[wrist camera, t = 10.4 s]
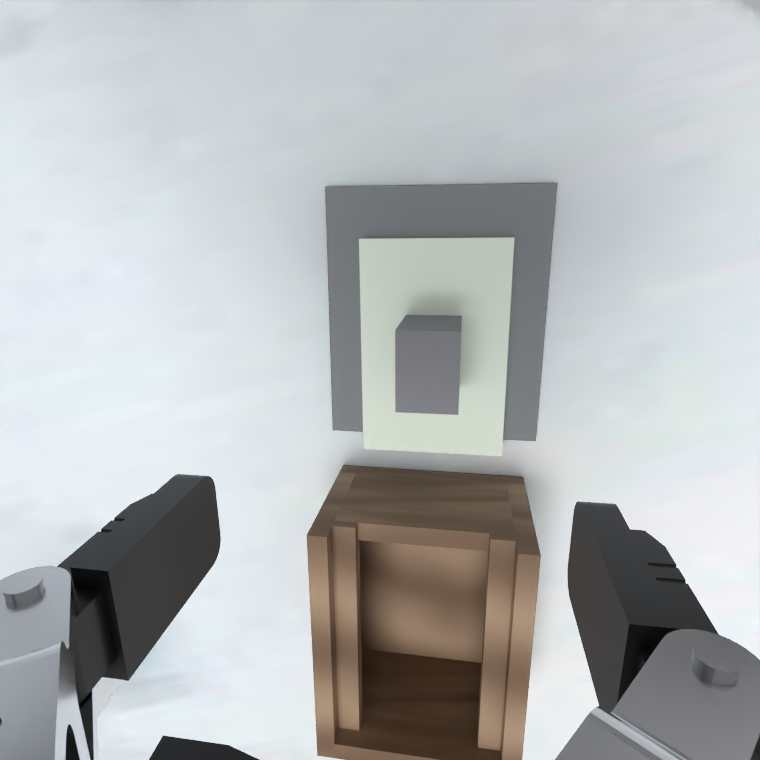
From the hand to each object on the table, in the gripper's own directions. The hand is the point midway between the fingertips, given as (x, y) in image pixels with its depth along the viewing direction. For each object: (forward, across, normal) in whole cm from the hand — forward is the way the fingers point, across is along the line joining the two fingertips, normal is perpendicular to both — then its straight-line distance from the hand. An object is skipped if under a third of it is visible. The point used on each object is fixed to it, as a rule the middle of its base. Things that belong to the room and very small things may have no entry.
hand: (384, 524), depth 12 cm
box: (+19, 0, +15) cm, 25 cm away
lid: (+19, 0, 0) cm, 19 cm away
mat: (+20, 0, -1) cm, 20 cm away
